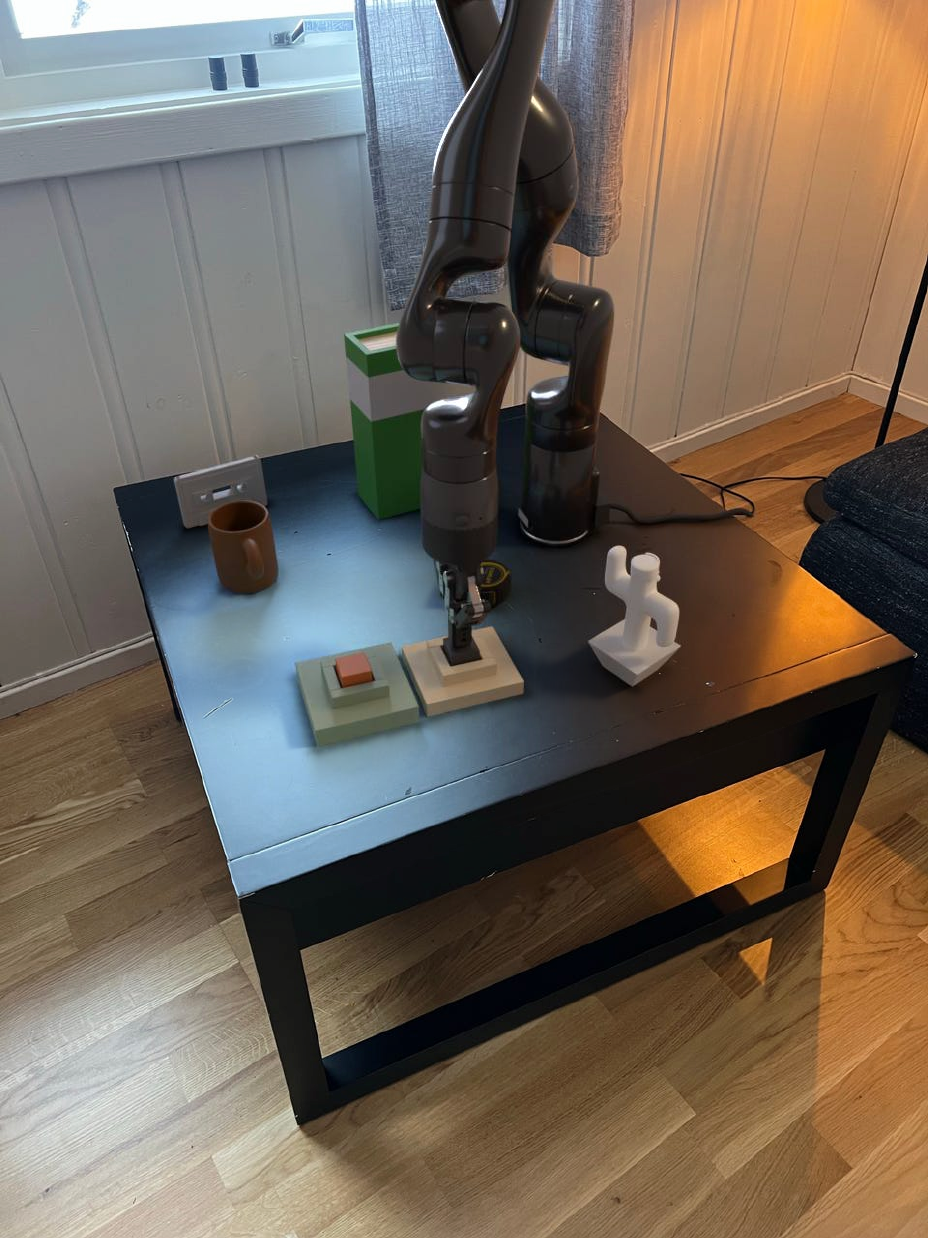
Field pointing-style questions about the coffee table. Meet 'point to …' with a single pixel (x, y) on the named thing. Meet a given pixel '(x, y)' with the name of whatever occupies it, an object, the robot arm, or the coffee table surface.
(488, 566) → the tape measure
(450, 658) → the key
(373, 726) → the green stepped square block
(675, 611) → the figurine
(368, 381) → the hardback book
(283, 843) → the coffee table surface
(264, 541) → the mug
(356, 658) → the key
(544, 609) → the coffee table surface
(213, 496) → the cassette
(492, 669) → the beige push button
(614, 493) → the coffee table surface
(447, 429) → the robot arm
